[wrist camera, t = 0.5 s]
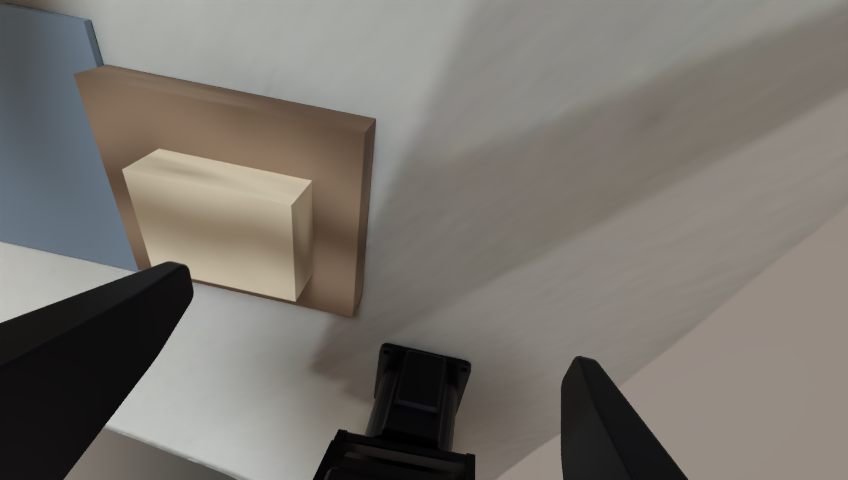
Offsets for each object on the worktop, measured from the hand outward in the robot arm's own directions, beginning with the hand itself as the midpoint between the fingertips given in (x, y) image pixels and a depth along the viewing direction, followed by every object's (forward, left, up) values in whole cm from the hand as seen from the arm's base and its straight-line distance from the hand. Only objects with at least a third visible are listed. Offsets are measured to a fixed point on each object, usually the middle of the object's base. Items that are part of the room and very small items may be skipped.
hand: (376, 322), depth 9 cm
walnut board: (-6, +10, -13) cm, 18 cm away
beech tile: (-6, +10, -10) cm, 15 cm away
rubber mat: (-6, +25, -13) cm, 28 cm away
